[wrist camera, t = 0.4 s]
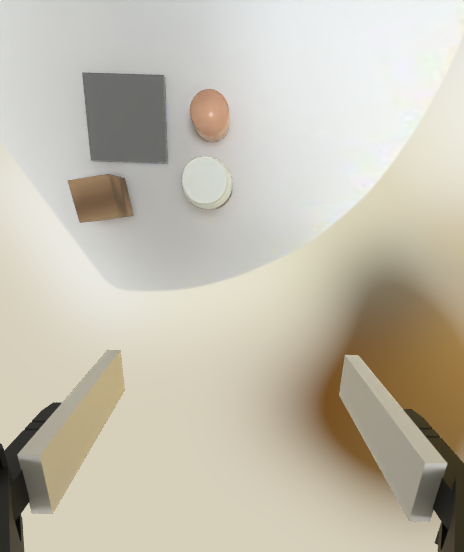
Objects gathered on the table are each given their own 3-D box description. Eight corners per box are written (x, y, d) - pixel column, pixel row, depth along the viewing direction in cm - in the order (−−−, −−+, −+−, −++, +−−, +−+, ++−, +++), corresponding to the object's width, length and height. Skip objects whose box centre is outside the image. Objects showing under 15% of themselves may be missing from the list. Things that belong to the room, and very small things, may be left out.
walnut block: (89, 184, 36) (67, 180, 32) (124, 178, 36) (108, 174, 31) (99, 220, 38) (79, 222, 33) (133, 215, 37) (118, 216, 33)
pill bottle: (200, 215, 37) (189, 218, 28) (184, 174, 36) (166, 163, 26) (238, 200, 37) (240, 198, 27) (223, 159, 35) (220, 141, 26)
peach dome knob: (195, 103, 34) (189, 88, 29) (229, 104, 34) (229, 89, 29) (195, 141, 35) (190, 132, 31) (228, 142, 35) (228, 133, 31)
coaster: (84, 75, 33) (82, 72, 32) (164, 77, 33) (163, 75, 32) (93, 160, 35) (91, 160, 35) (167, 163, 36) (166, 162, 35)
